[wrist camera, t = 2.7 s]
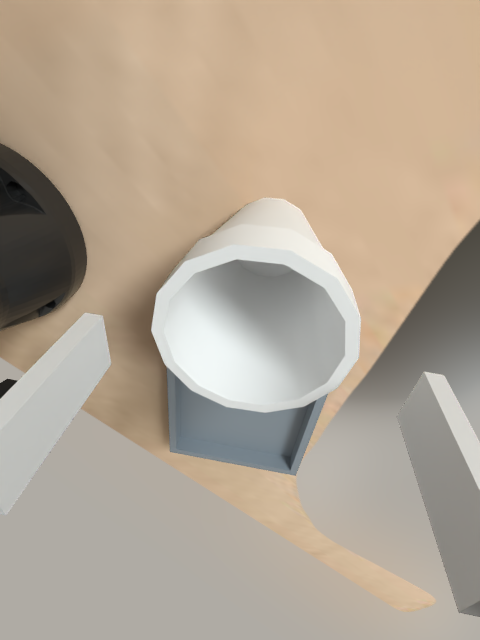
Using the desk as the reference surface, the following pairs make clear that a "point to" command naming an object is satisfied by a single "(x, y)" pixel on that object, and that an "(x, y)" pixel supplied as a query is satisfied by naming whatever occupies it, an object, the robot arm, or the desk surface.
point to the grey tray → (238, 430)
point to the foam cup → (258, 313)
